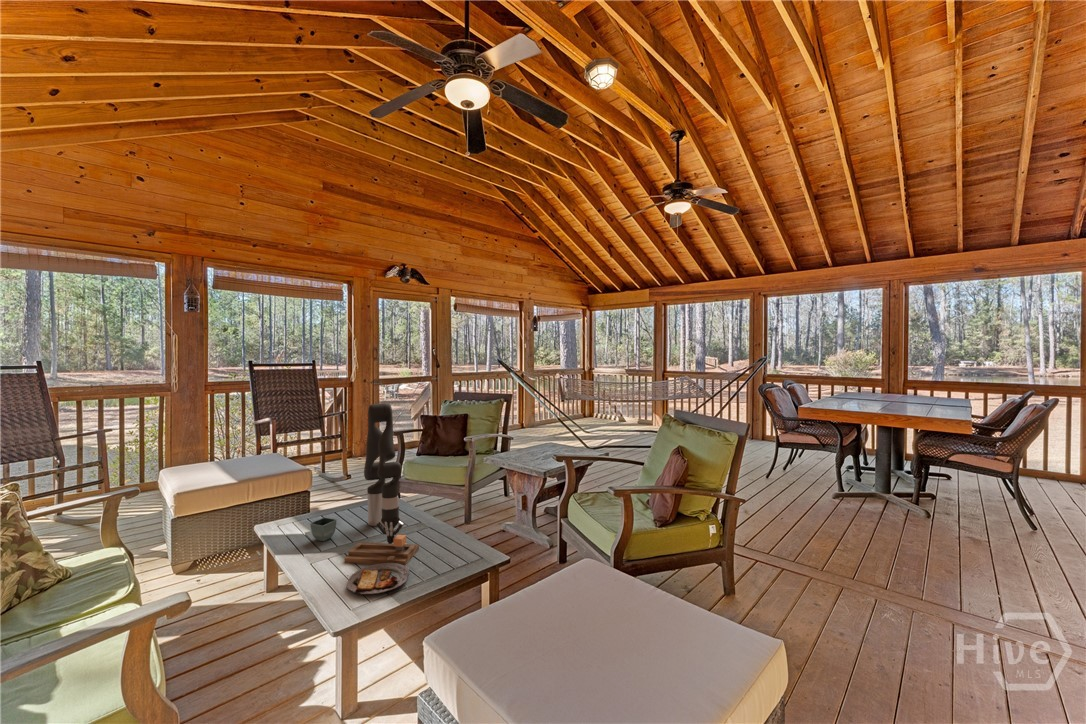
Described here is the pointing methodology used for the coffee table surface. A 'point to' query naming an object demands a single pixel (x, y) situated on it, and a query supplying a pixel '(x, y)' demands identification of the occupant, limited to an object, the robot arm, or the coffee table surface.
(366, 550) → the console
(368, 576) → the food plate
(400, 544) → the fader
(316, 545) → the coffee table surface
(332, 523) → the flower pot
